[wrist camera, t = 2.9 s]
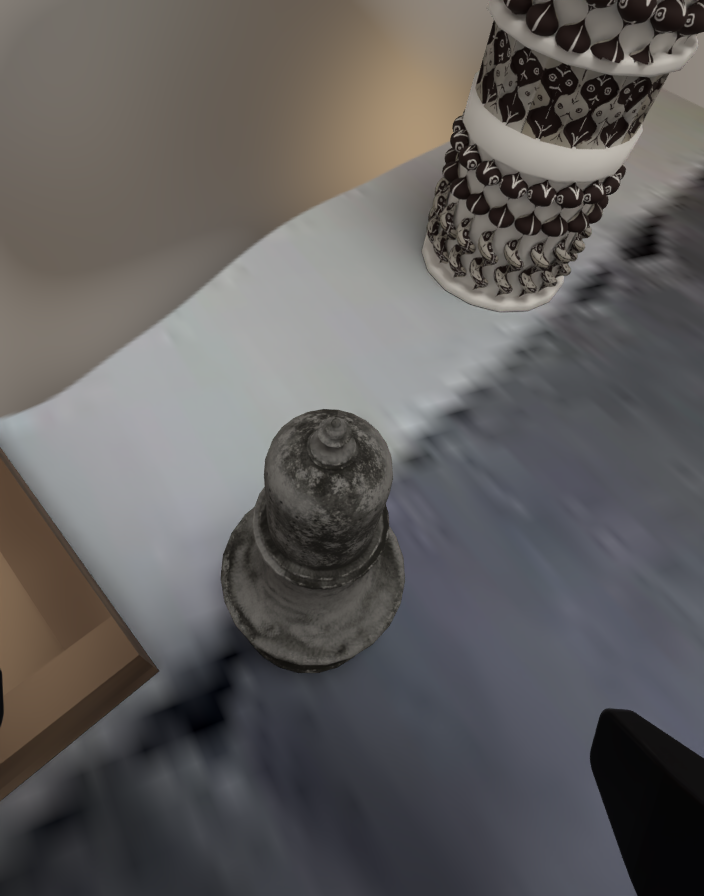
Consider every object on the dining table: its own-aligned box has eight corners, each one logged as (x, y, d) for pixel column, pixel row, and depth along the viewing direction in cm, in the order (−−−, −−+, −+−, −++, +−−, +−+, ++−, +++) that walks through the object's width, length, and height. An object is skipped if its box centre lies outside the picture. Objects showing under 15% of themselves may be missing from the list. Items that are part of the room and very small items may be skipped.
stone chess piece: (212, 670, 19) (126, 546, 8) (248, 515, 22) (217, 286, 11) (380, 693, 19) (496, 598, 9) (392, 536, 22) (487, 330, 12)
